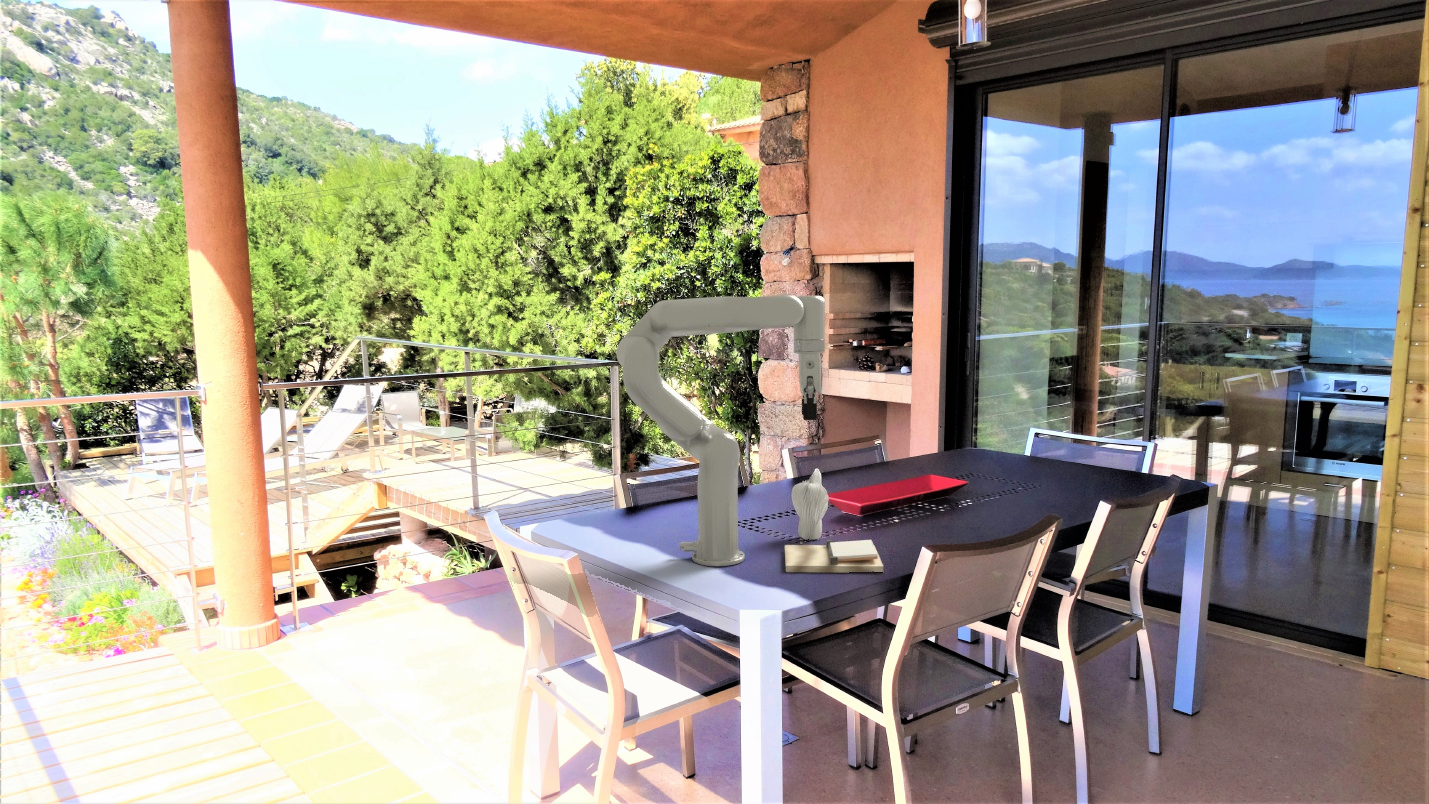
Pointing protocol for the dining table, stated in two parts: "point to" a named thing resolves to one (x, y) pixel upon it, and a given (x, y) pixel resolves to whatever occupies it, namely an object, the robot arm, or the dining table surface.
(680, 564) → the dining table surface
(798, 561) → the board
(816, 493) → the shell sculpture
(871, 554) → the tile
